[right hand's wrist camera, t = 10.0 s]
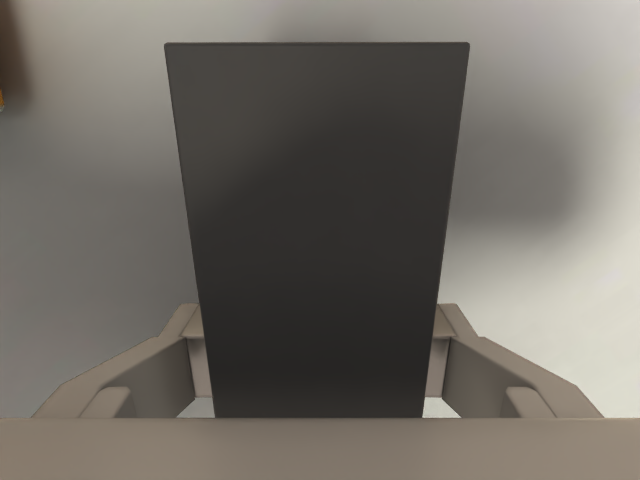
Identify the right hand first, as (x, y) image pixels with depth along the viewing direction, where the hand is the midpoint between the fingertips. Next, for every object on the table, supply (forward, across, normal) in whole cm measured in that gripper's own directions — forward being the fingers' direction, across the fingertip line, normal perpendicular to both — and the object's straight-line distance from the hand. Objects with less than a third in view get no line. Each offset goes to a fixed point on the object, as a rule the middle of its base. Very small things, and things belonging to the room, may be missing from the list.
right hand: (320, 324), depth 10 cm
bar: (+3, 0, -30) cm, 30 cm away
